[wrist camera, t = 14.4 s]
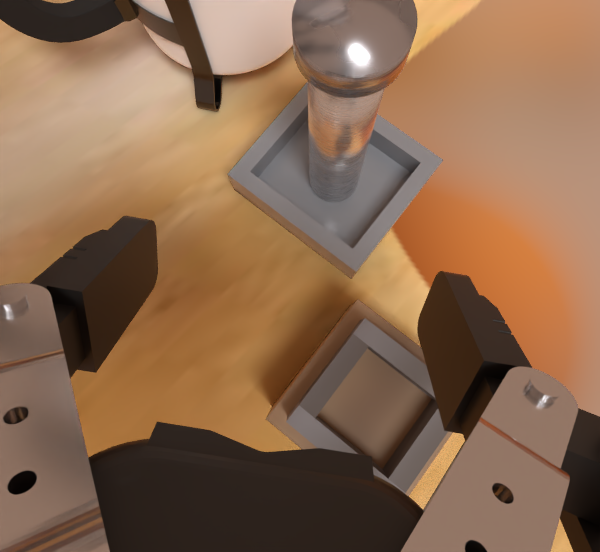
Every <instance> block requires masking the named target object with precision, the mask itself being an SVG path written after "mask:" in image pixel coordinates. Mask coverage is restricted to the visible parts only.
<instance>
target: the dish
mask: <svg viewBox="0 0 600 552" xmlns="http://www.w3.org/2000/svg"><path fill="white" fill-rule="evenodd" d="M442 161H443V159H441V158H440V157H438V156H437V155H435V154H434V153H432V152H431V151H430V150H428V149H427V148H425V147H424V146H422V145H421V144H420V143H418V142H417V141H415V140H414V139H412V138H411V137H409V136H408V135H407V134H405V133H404V132H402V131H401V130H399V129H398V128H397V127H395V126H394V125H392V124H391V123H389V122H388V121H387V120H385V119H384V118H382V117H381V116H379V115H378V114H377V116H376V120H375V124H374V127H373V131H372V134H371V138H370V141H369V145H368V148H367V152H366V156H365V159H364V163H363V166H362V170H361V173H360V177H359V180H358V184H357V187H356V189H355V191H354V193H353V194H352V195H351V196H350V197H349V198H347V199H345V200H343V201H340V202H327V201H324V200H322V199H320V198H319V197H318V196H316V194H315V193H314V192H313V190H312V188H311V186H310V177H309V127H308V82H307V83H306V84H305V85H304V86H303V88H302V89H301V90H300V91H299V92H298V93H297V95H296V96H295V97H294V98H293V99H292V100H291V101H290V103H289V104H288V105H287V106H286V107H285V108H284V110H283V111H282V112H281V113H280V114H279V115H278V116H277V118H276V119H275V120H274V121H273V122H272V123H271V125H270V126H269V127H268V128H267V129H266V130H265V131H264V133H263V134H262V135H261V136H260V137H259V138H258V140H257V141H256V142H255V143H254V144H253V145H252V146H251V148H250V149H249V150H248V151H247V152H246V153H245V155H244V156H243V157H242V158H241V159H240V160H239V161H238V163H237V164H236V165H235V166H234V167H233V168H232V170H231V171H230V172H229V173H228V176H229V179H230V181H231V183H232V185H233V188H234V190H236V191H237V192H238V193H239V194H241V195H242V196H243V197H245V198H246V199H247V200H249V201H250V202H251V203H253V204H254V205H255V206H257V207H258V208H259V209H260V210H262V211H263V212H264V213H266V214H267V215H268V216H270V217H271V218H272V219H274V220H275V221H276V222H277V223H279V224H280V225H281V226H283V227H284V228H285V229H287V230H288V231H289V232H291V233H292V234H293V235H295V236H296V237H297V238H298V239H300V240H301V241H302V242H304V243H305V244H306V245H308V246H309V247H310V248H312V249H313V250H314V251H316V252H317V253H318V254H319V255H321V256H322V257H323V258H325V259H326V260H327V261H329V262H330V263H331V264H333V265H334V266H335V267H336V268H338V269H339V270H340V271H342V272H343V273H344V274H346V275H347V276H348V277H350V278H351V279H352V277H353V276H354V275H355V273H356V272H357V271H358V270H359V268H360V267H361V266H362V264H363V263H364V262H365V261H366V259H367V258H368V257H369V256H370V254H371V253H372V252H373V250H374V249H375V248H376V247H377V245H378V244H379V243H380V241H381V240H382V239H383V238H384V236H385V235H386V234H387V232H388V231H389V230H390V229H391V227H392V226H393V225H394V223H395V222H396V221H397V220H398V218H399V217H400V216H401V214H402V213H403V211H405V209H406V208H407V207H408V205H409V204H410V203H411V201H412V200H413V199H414V198H415V196H416V195H417V194H418V192H419V191H420V190H421V189H422V187H423V186H424V185H425V184H426V182H427V181H428V180H429V178H430V177H431V176H432V174H433V173H434V172H435V170H436V169H437V168H438V166H439V165H440V164H441V162H442Z"/></svg>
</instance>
